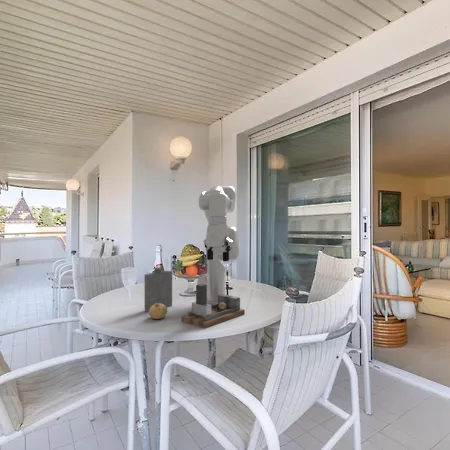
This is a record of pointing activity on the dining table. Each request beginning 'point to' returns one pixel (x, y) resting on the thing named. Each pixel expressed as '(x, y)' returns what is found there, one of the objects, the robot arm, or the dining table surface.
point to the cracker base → (217, 312)
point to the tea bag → (202, 280)
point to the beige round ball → (222, 306)
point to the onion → (157, 311)
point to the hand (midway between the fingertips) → (217, 260)
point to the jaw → (201, 302)
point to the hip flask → (158, 288)
